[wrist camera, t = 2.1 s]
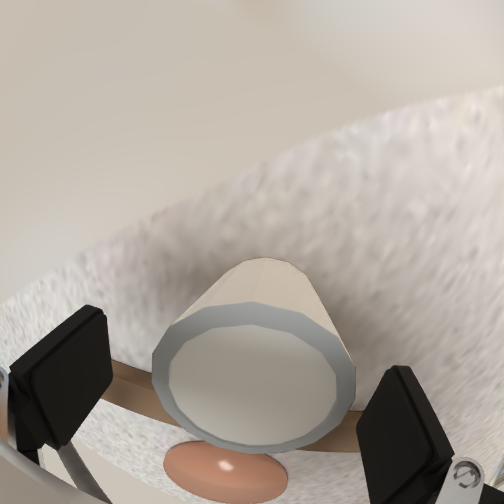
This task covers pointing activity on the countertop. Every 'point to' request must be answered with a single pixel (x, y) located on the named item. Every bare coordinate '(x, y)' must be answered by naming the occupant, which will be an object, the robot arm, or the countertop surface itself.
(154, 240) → the countertop surface
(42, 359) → the robot arm
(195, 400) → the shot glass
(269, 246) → the countertop surface
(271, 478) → the coaster
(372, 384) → the countertop surface
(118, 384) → the arched handle
